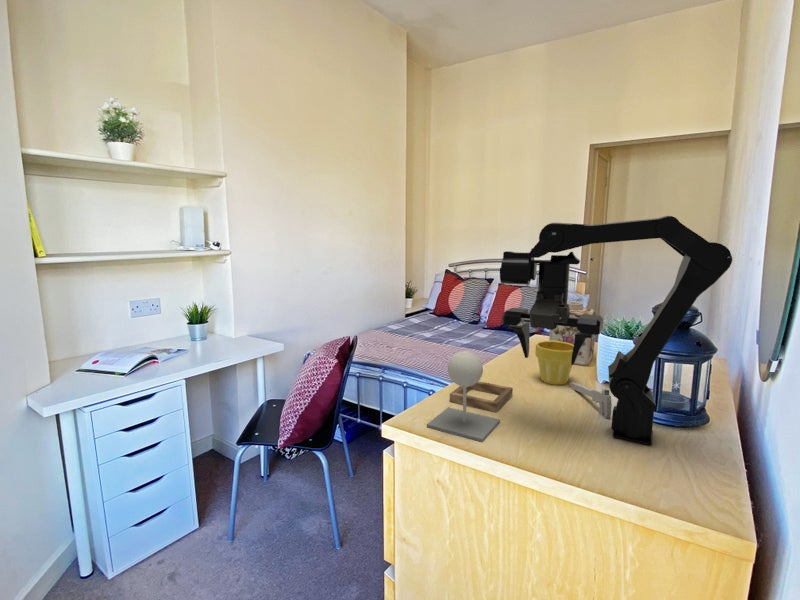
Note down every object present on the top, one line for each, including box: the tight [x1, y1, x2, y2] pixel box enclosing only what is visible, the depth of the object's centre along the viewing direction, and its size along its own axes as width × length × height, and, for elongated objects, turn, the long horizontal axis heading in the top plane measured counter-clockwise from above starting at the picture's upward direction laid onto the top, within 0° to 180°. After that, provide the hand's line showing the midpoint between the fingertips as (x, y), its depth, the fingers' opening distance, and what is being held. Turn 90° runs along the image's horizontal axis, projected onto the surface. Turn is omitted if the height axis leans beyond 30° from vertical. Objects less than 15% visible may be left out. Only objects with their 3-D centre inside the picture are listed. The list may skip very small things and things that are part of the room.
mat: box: [426, 407, 501, 443], centre depth 87 cm, size 12×10×1 cm
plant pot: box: [535, 340, 574, 386], centre depth 112 cm, size 10×10×10 cm
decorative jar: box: [548, 300, 597, 367], centre depth 131 cm, size 12×12×18 cm
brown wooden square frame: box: [449, 380, 514, 413], centre depth 101 cm, size 11×11×2 cm
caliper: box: [568, 382, 613, 419], centre depth 99 cm, size 20×1×6 cm, turn 0°
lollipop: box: [447, 350, 484, 422], centre depth 86 cm, size 7×7×15 cm
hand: (549, 360), depth 87 cm, fingers open, 9 cm apart
